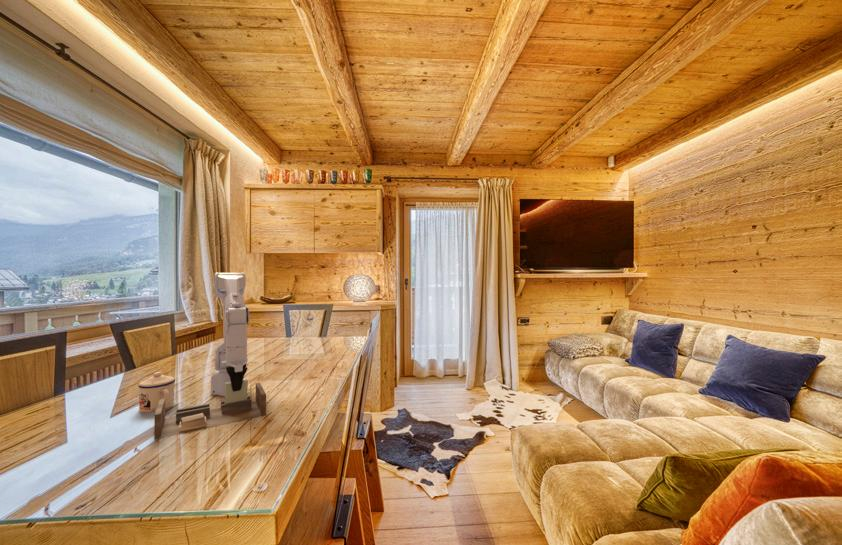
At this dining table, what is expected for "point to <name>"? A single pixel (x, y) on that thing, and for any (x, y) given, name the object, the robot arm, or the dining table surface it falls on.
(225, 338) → the robot arm
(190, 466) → the dining table surface
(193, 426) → the offcut lower
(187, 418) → the offcut upper
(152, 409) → the teacup with lid
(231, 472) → the dining table surface
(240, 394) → the beige flat block
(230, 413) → the rack
